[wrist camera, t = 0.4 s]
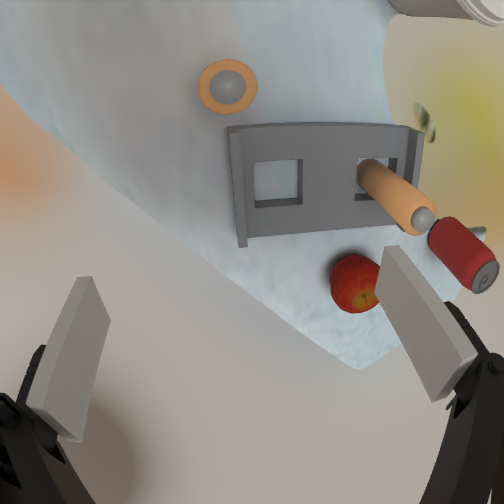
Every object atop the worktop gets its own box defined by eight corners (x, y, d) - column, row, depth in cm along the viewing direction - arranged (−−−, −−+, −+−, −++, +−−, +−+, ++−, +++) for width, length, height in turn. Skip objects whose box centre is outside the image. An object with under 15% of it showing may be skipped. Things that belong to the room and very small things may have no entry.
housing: (227, 126, 32) (233, 157, 21) (406, 125, 33) (474, 157, 22) (236, 230, 39) (245, 300, 28) (395, 217, 40) (445, 271, 29)
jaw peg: (203, 66, 28) (195, 61, 17) (242, 63, 28) (257, 57, 17) (206, 101, 30) (200, 118, 19) (244, 98, 30) (260, 113, 19)
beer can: (421, 251, 44) (462, 299, 34) (433, 213, 40) (481, 258, 30) (449, 250, 45) (490, 294, 35) (461, 215, 41) (508, 257, 31)
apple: (349, 293, 47) (367, 329, 40) (311, 277, 44) (326, 315, 38) (381, 256, 43) (404, 289, 37) (344, 235, 41) (366, 269, 34)
